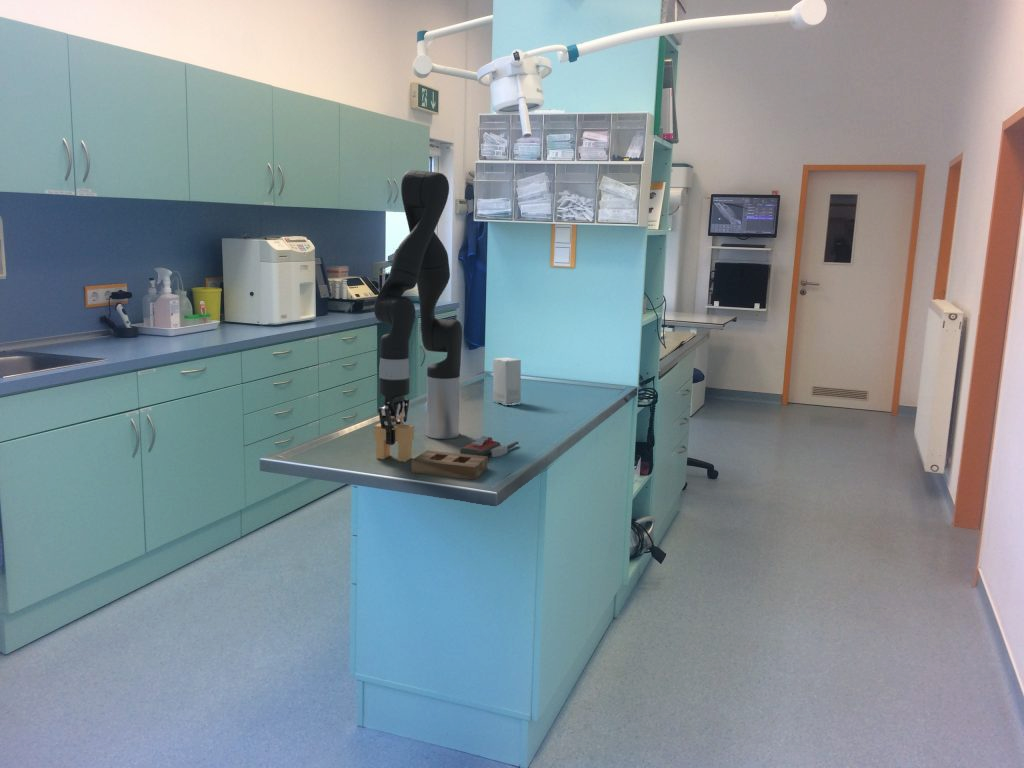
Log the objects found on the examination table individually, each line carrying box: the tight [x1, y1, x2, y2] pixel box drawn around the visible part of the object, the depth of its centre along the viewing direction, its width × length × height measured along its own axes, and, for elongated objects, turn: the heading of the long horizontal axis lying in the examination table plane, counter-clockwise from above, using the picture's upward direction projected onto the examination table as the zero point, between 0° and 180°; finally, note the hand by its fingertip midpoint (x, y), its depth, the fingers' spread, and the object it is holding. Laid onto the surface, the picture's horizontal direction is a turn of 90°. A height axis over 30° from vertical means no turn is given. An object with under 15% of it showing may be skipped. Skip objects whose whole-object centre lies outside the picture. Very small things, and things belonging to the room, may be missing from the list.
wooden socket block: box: [411, 450, 489, 480], centre depth 197 cm, size 10×16×3 cm, turn 74°
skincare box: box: [492, 356, 522, 404], centre depth 277 cm, size 8×7×16 cm
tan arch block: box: [373, 422, 415, 463], centre depth 206 cm, size 4×9×8 cm, turn 74°
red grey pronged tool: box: [459, 436, 519, 458], centre depth 215 cm, size 9×4×20 cm
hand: (394, 441), depth 206 cm, fingers closed on tan arch block, 4 cm apart
